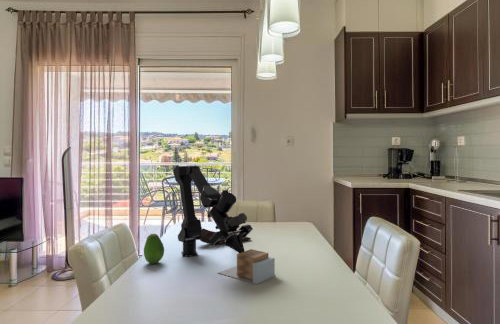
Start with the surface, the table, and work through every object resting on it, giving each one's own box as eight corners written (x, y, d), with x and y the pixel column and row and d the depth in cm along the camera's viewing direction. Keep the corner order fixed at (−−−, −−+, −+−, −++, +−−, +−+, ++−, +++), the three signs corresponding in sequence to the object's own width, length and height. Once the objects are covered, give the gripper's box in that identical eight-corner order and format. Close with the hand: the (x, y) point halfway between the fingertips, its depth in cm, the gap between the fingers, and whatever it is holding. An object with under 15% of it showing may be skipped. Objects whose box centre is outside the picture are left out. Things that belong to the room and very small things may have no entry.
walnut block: (237, 275, 126) (236, 253, 126) (251, 269, 132) (251, 249, 132) (254, 280, 121) (254, 258, 121) (268, 274, 127) (268, 252, 127)
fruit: (168, 261, 145) (167, 232, 144) (158, 267, 137) (157, 236, 137) (150, 259, 147) (150, 230, 147) (139, 265, 139) (139, 235, 139)
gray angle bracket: (217, 273, 130) (217, 255, 130) (237, 265, 138) (237, 249, 138) (256, 284, 118) (256, 265, 118) (275, 275, 127) (275, 257, 127)
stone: (196, 239, 165) (204, 218, 167) (192, 237, 171) (200, 217, 173) (246, 259, 175) (253, 239, 178) (241, 256, 181) (248, 237, 183)
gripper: (215, 209, 124) (238, 246, 118) (249, 203, 139) (271, 236, 132) (200, 228, 130) (221, 264, 123) (234, 221, 144) (254, 253, 137)
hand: (243, 253), depth 129 cm, fingers closed, pressing on walnut block
